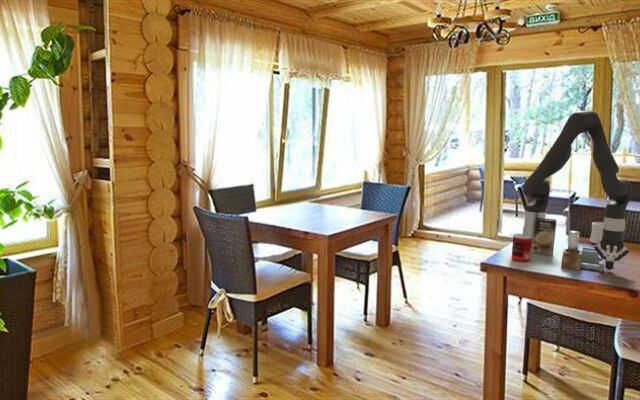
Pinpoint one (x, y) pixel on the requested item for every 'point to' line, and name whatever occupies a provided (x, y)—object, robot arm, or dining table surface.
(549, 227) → the coffee box
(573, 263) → the socket block
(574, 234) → the peg
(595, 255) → the block
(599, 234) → the mug
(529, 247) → the canned food
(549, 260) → the dining table surface
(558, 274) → the dining table surface
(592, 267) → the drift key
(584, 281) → the dining table surface
